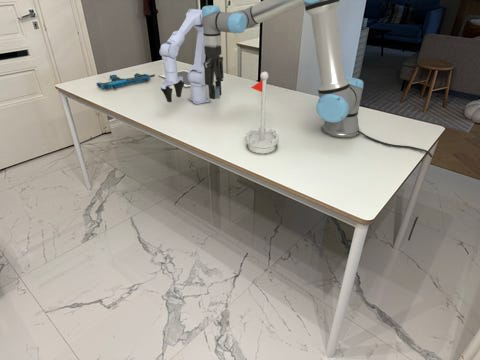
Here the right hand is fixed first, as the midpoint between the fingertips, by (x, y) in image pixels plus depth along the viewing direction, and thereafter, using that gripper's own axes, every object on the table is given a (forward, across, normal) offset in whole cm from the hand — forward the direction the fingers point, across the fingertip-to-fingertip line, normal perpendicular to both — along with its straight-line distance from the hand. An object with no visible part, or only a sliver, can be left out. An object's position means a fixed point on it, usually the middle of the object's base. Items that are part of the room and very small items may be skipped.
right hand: (215, 96), depth 161 cm
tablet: (+8, -43, -48) cm, 64 cm away
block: (0, 0, 0) cm, 0 cm away
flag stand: (+9, +22, +34) cm, 42 cm away
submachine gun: (+8, -20, -77) cm, 80 cm away
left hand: (+2, +7, -19) cm, 21 cm away
